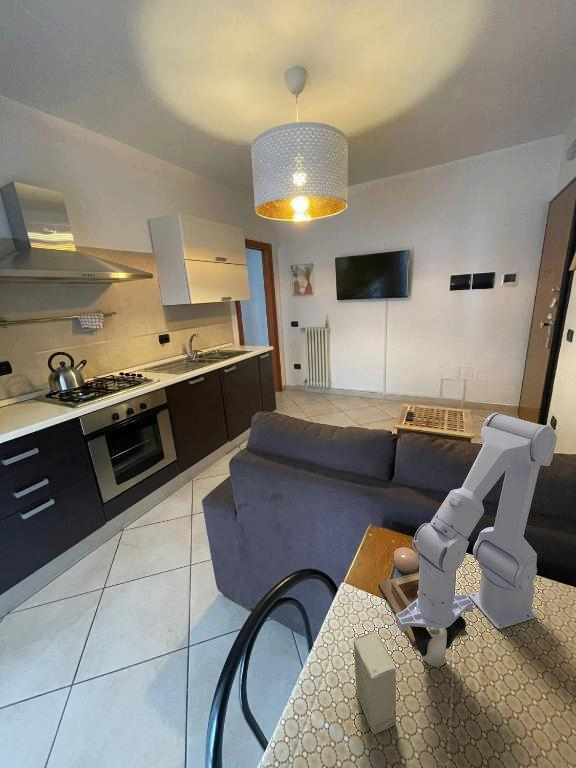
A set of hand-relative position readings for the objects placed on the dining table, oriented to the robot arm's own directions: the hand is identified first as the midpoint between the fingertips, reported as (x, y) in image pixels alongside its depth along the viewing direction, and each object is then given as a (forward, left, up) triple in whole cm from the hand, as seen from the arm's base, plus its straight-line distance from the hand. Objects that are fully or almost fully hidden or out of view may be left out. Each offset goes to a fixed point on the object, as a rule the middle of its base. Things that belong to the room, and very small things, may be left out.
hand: (432, 646), depth 59 cm
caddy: (-4, -10, -3) cm, 11 cm away
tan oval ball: (-8, -21, -3) cm, 23 cm away
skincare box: (+14, +4, -3) cm, 15 cm away
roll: (0, 0, -2) cm, 2 cm away
